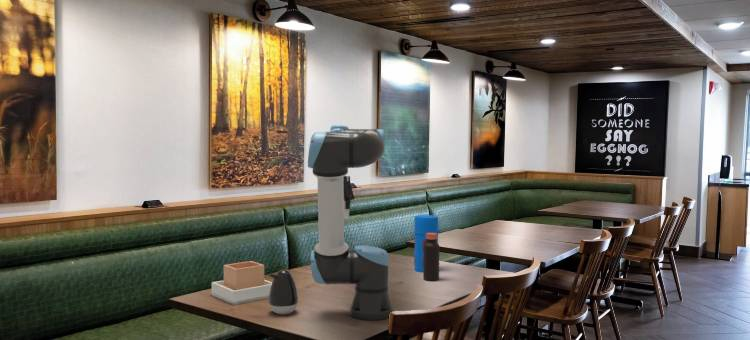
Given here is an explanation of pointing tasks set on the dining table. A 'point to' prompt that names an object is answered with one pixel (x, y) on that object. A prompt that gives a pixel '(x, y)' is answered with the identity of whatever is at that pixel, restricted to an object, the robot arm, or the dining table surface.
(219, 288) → the white tray
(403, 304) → the dining table surface
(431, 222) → the thermos
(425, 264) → the bottle
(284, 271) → the pump dispenser
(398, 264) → the dining table surface
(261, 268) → the terracotta crate
